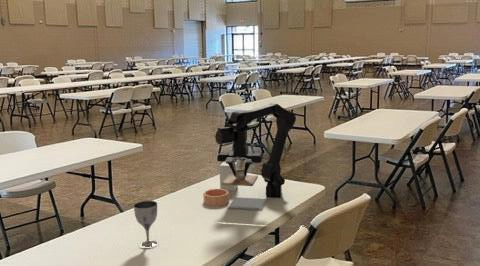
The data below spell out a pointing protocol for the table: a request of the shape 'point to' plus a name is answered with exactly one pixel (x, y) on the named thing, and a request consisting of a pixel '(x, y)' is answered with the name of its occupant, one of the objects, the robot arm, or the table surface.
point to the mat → (248, 204)
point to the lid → (240, 179)
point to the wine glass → (146, 217)
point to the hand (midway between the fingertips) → (240, 176)
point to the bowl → (216, 197)
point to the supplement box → (224, 172)
